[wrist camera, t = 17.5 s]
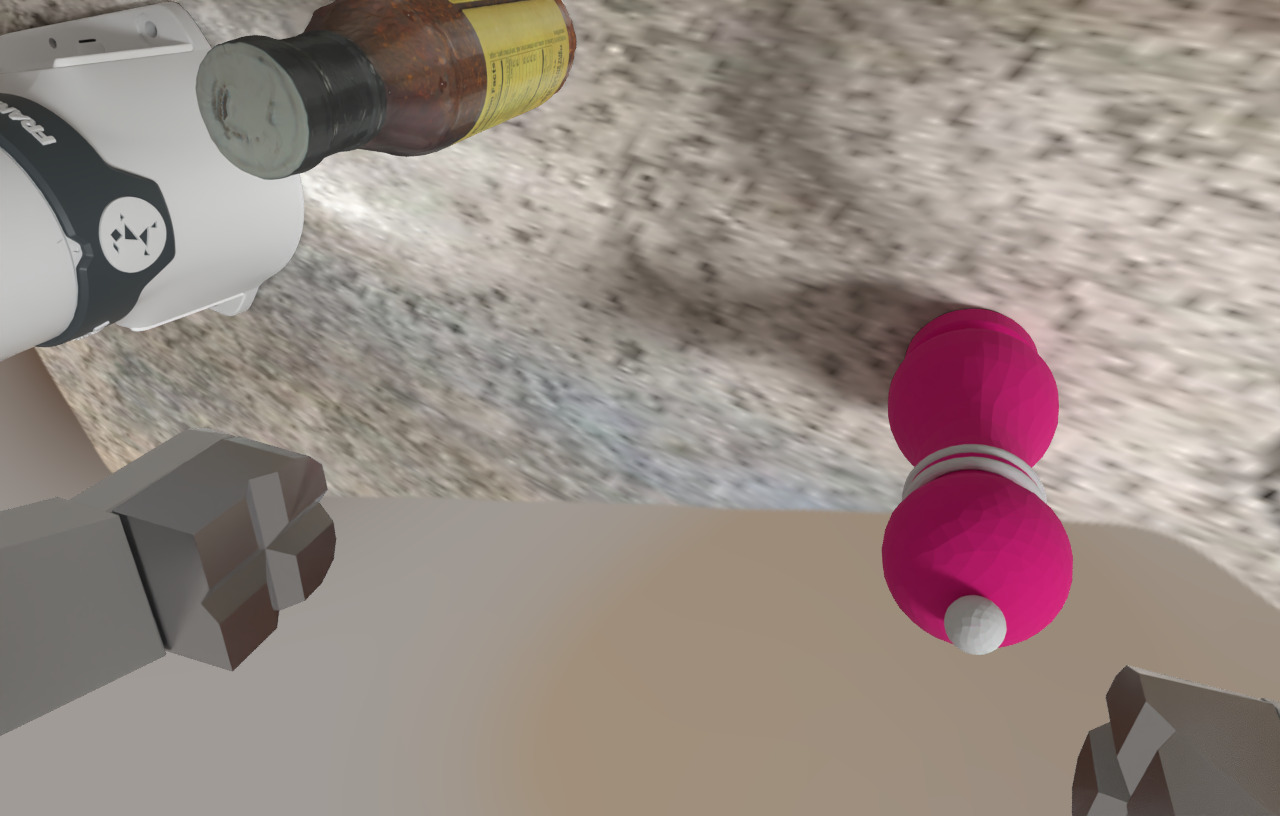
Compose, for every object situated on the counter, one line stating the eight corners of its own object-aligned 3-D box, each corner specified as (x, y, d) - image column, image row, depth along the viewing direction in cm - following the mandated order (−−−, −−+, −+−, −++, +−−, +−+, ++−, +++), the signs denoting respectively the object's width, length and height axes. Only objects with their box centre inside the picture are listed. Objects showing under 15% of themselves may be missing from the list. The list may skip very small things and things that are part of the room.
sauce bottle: (447, 34, 42) (115, 85, 25) (522, -62, 38) (195, -75, 22) (532, 137, 43) (266, 249, 26) (613, 51, 40) (365, 120, 23)
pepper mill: (964, 454, 43) (966, 764, 27) (864, 364, 43) (802, 622, 26) (1084, 368, 39) (1175, 670, 23) (975, 267, 39) (986, 500, 22)
